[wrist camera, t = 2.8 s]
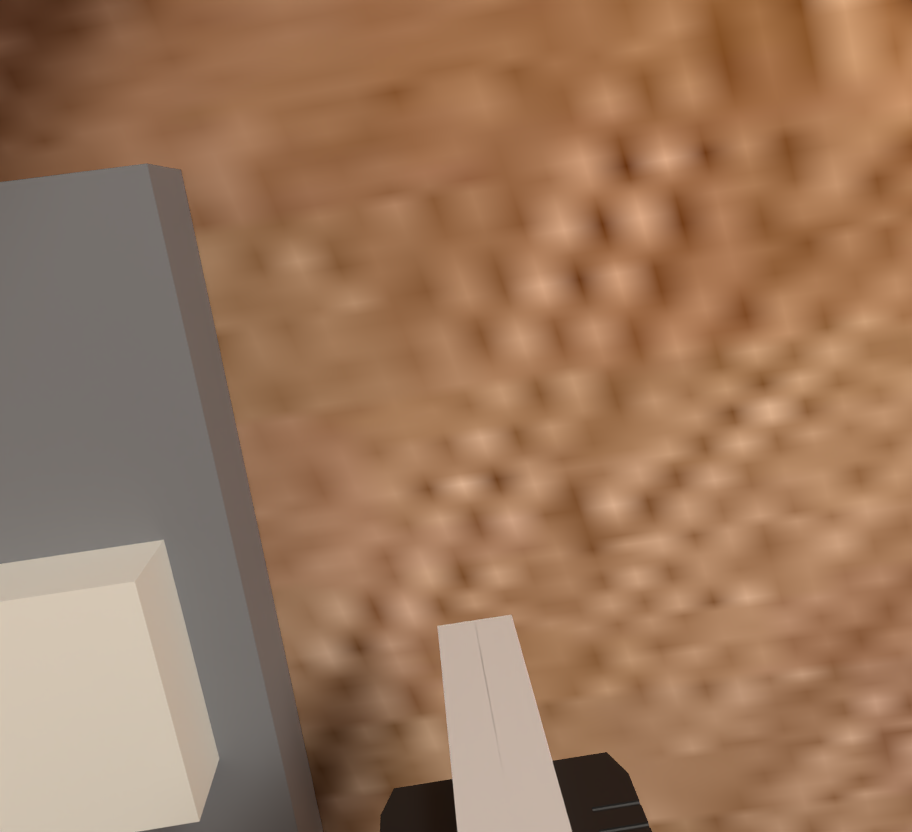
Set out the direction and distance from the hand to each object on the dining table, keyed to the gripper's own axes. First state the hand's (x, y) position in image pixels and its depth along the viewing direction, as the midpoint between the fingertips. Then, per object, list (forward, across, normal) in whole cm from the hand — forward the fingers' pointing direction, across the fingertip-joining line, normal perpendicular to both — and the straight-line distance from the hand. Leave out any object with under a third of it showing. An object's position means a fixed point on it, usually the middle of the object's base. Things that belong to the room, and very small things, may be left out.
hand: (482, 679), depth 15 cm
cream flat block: (+3, +11, 0) cm, 12 cm away
